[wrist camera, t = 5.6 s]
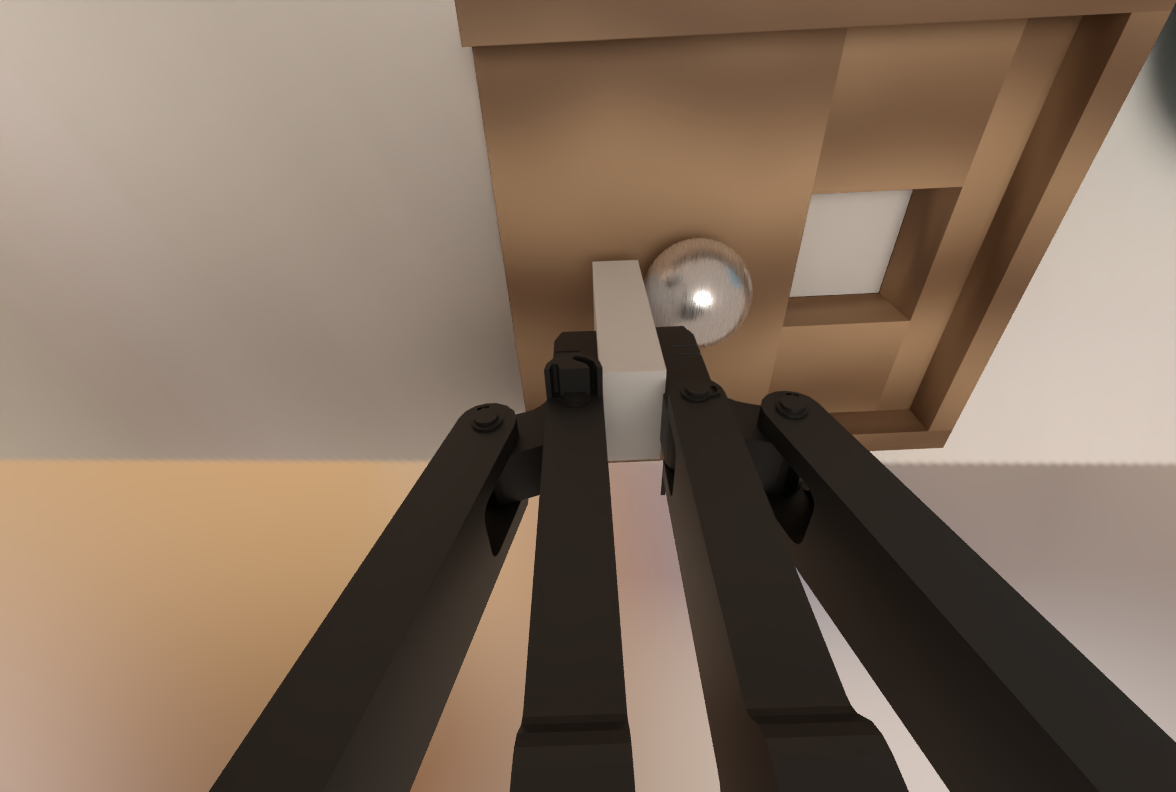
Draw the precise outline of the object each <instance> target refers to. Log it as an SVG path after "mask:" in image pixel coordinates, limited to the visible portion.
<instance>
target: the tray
mask: <svg viewBox="0 0 1176 792" xmlns="http://www.w3.org/2000/svg"><path fill="white" fill-rule="evenodd" d="M1175 4H1176V0H455V6H456V12H457V19H458V25H459V31H460V38H461V44H462V47H471V46H472V51H473V57H474V64H475V71H476V78H477V84H478V91H479V98H480V105H481V111H482V118H483V125H484V132H485V138H486V145H487V152H488V159H489V165H490V172H491V179H492V186H493V192H494V199H495V206H496V212H497V219H498V226H499V233H500V239H501V246H502V253H503V260H504V266H505V273H506V280H507V287H508V293H509V300H510V307H511V314H512V320H513V327H514V334H515V341H516V347H517V354H518V361H519V368H520V374H521V381H522V388H523V395H524V401H525V408H526V412H528V411H531V410H534V409H535V408H537V407H539V406H541V405H542V404H543V403H544V402H546V400H547V396H546V386H545V377H544V368H545V366H546V364H547V363H548V362H549V361H550V360H552V359H553V353H554V352H553V351H554V341H555V340H556V338H557V337H558V336H559V335H560V334H561V332H572V331H594V299H593V266H592V262H597V261H623V260H638V263H639V267H640V270H641V274H642V278H643V282H644V279H645V276H646V274H647V272H648V270H649V268H650V266H651V264H652V263H653V262H654V260H655V259H656V258H657V257H658V256H659V255H660V254H661V253H662V252H663V251H664V250H666V249H667V248H669V247H670V246H672V245H674V244H676V243H678V242H680V241H684V240H687V239H693V238H706V239H712V240H716V241H718V242H721V243H723V244H725V245H727V246H729V247H730V248H732V249H733V250H734V251H735V252H736V253H737V254H738V255H739V256H740V257H741V258H742V259H743V261H744V262H745V264H746V266H747V268H748V270H749V273H750V276H751V279H752V285H753V296H752V302H751V307H750V310H749V312H748V314H747V317H746V318H745V320H744V322H743V323H742V325H741V326H740V327H739V328H738V330H737V331H736V332H734V333H733V334H732V335H731V336H730V337H728V338H727V339H726V340H724V341H722V342H720V343H718V344H715V345H713V346H709V347H705V348H699V350H700V352H701V355H702V358H703V360H704V363H705V366H706V368H707V371H708V374H709V376H710V379H711V381H714V382H715V383H717V384H718V385H720V386H721V387H722V388H723V390H724V391H725V393H726V395H727V398H730V399H732V400H735V401H739V402H743V403H749V404H755V405H761V402H762V399H763V398H764V397H765V396H766V395H767V394H770V393H773V392H775V391H792V392H798V393H801V394H803V395H806V396H809V397H810V398H812V399H813V400H815V401H816V402H818V403H819V404H820V405H821V406H822V407H823V408H824V409H825V410H826V411H827V412H828V413H829V414H830V415H832V416H833V417H834V418H835V419H836V420H837V421H838V422H839V423H840V424H841V425H842V426H843V427H844V428H845V429H846V430H847V431H848V432H849V433H850V434H852V435H853V436H854V437H855V438H856V439H857V440H858V441H859V442H860V443H861V444H862V445H863V446H864V447H865V448H866V449H867V450H868V451H880V450H902V449H924V448H943V447H944V445H945V443H946V441H947V439H948V437H949V435H950V433H951V431H952V430H953V428H954V426H955V424H956V422H957V420H958V418H959V416H960V414H961V412H962V410H963V409H964V407H965V405H966V403H967V401H968V399H969V397H970V395H971V393H972V391H973V389H974V388H975V386H976V384H977V382H978V380H979V378H980V376H981V374H982V372H983V370H984V368H985V367H986V365H987V363H988V361H989V359H990V357H991V355H992V353H993V351H994V349H995V347H996V345H997V344H998V342H999V340H1000V338H1001V336H1002V334H1003V332H1004V330H1005V328H1006V326H1007V324H1008V323H1009V321H1010V319H1011V317H1012V315H1013V313H1014V311H1015V309H1016V307H1017V305H1018V303H1019V302H1020V300H1021V298H1022V296H1023V294H1024V292H1025V290H1026V288H1027V286H1028V284H1029V282H1030V281H1031V279H1032V277H1033V275H1034V273H1035V271H1036V269H1037V267H1038V265H1039V263H1040V261H1041V260H1042V258H1043V256H1044V254H1045V252H1046V250H1047V248H1048V246H1049V244H1050V242H1051V240H1052V239H1053V237H1054V235H1055V233H1056V231H1057V229H1058V227H1059V225H1060V223H1061V221H1062V219H1063V217H1064V216H1065V214H1066V212H1067V210H1068V208H1069V206H1070V204H1071V202H1072V200H1073V198H1074V196H1075V195H1076V193H1077V191H1078V189H1079V187H1080V185H1081V183H1082V181H1083V179H1084V177H1085V175H1086V174H1087V172H1088V170H1089V168H1090V166H1091V164H1092V162H1093V160H1094V158H1095V156H1096V154H1097V153H1098V151H1099V149H1100V147H1101V145H1102V143H1103V141H1104V139H1105V137H1106V135H1107V133H1108V132H1109V130H1110V128H1111V126H1112V124H1113V122H1114V120H1115V118H1116V116H1117V114H1118V112H1119V111H1120V109H1121V107H1122V105H1123V103H1124V101H1125V99H1126V97H1127V95H1128V93H1129V91H1130V89H1131V88H1132V86H1133V84H1134V82H1135V80H1136V78H1137V76H1138V74H1139V72H1140V70H1141V68H1142V67H1143V65H1144V63H1145V61H1146V59H1147V57H1148V55H1149V53H1150V51H1151V49H1152V47H1153V46H1154V44H1155V42H1156V40H1157V38H1158V36H1159V34H1160V32H1161V30H1162V28H1163V26H1164V25H1165V23H1166V21H1167V19H1168V17H1169V15H1170V13H1171V11H1172V9H1173V7H1174V5H1175ZM906 189H914V191H913V194H912V197H911V200H910V203H909V206H908V209H907V212H906V215H905V218H904V221H903V224H902V227H901V230H900V233H899V236H898V239H897V242H896V245H895V248H894V250H893V253H892V256H891V259H890V262H889V265H888V268H887V271H886V274H885V277H884V280H883V283H882V286H881V289H880V292H879V293H871V294H850V295H829V296H808V297H789V295H790V290H791V286H792V281H793V277H794V272H795V268H796V263H797V258H798V254H799V249H800V245H801V240H802V235H803V231H804V226H805V222H806V217H807V213H808V208H809V203H810V199H811V194H824V193H845V192H865V191H885V190H906ZM660 460H664V458H663V453H662V448H661V454H660V459H648V460H621V461H608V463H616V462H638V461H660Z"/></svg>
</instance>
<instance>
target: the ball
mask: <svg viewBox="0 0 1176 792" xmlns="http://www.w3.org/2000/svg"><path fill="white" fill-rule="evenodd" d="M644 286H645V290H646V293H647V297H648V301H649V305H650V309H651V313H652V317H653V320H654V324H655V327H669V326H684V327H685V328H686V329H688V330H689V331H690V332H691V333H692V334H694V336H695V339H696V342H697V344H698V347H699V348H705V347H709V346H713V345H715V344H718V343H720V342H722V341H724V340H726V339H727V338H728V337H730V336H731V335H732V334H733V333H734V332H736V331H737V330H738V328H739V327H740V326H741V325H742V323H743V322H744V320H745V318H746V317H747V314H748V312H749V310H750V307H751V302H752V296H753V285H752V279H751V276H750V273H749V270H748V268H747V266H746V264H745V262H744V261H743V259H742V258H741V257H740V256H739V255H738V254H737V253H736V252H735V251H734V250H733V249H732V248H730V247H729V246H727V245H725V244H723V243H721V242H718V241H716V240H712V239H706V238H693V239H687V240H684V241H680V242H678V243H676V244H674V245H672V246H670V247H669V248H667V249H666V250H664V251H663V252H662V253H661V254H660V255H659V256H658V257H657V258H656V259H655V260H654V262H653V263H652V264H651V266H650V268H649V270H648V272H647V274H646V276H645V279H644Z"/></svg>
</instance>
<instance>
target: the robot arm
mask: <svg viewBox="0 0 1176 792" xmlns="http://www.w3.org/2000/svg"><path fill="white" fill-rule="evenodd" d="M592 266H593V299H594V331H572V332H561V334H560V335H559V336H558V337H557V338H556V340H555V341H554V351H553V352H554V353H553V359H552V360H550V361H549V362H548V363H547V364H546V366H545V368H544V377H545V386H546V396H547V400H546V402H544V403H543V404H542V405H541V406H539V407H537V408H535V409H534V410H531V411H528V412H524V413H521V414H517V415H515V413H514V411H513V410H512V409H511V408H509V407H508V406H506V405H502V404H498V403H489V404H483V405H479V406H475V407H473V408H471V409H469V410H467V411H466V412H465V413H464V414H463V415H462V416H461V417H460V418H459V419H458V421H457V422H456V424H455V425H454V427H453V428H452V430H451V431H450V433H449V434H448V436H447V437H446V439H445V440H444V442H443V443H442V445H441V446H440V448H439V449H438V451H437V452H436V454H435V455H434V457H433V458H432V460H431V461H430V463H429V464H428V466H427V467H426V468H425V470H424V472H423V473H422V475H421V476H420V478H419V479H418V480H417V482H416V484H415V485H414V486H413V488H412V490H411V491H410V492H409V494H408V495H407V497H406V498H405V500H404V501H403V503H402V504H401V506H400V507H399V509H398V510H397V512H396V513H395V515H394V516H393V518H392V519H391V521H390V522H389V524H388V525H387V527H386V528H385V530H384V531H383V533H382V534H381V536H380V537H379V539H378V540H377V542H376V543H375V545H374V546H373V548H372V549H371V551H370V552H369V554H368V555H367V556H366V558H365V560H364V561H363V562H362V564H361V565H360V567H359V569H358V570H357V572H356V573H355V574H354V576H353V577H352V579H351V580H350V582H349V583H348V585H347V587H346V588H345V589H344V591H343V592H342V594H341V595H340V597H339V598H338V600H337V601H336V603H335V604H334V606H333V608H332V609H331V610H330V612H329V613H328V615H327V617H326V618H325V619H324V621H323V622H322V624H321V625H320V627H319V628H318V630H317V631H316V633H315V634H314V636H313V637H312V639H311V640H310V642H309V643H308V645H307V646H306V647H305V649H304V650H303V652H302V653H301V655H300V656H299V658H298V660H297V661H296V662H295V664H294V665H293V667H292V668H291V670H290V672H289V673H288V674H287V676H286V677H285V679H284V680H283V682H282V684H281V685H280V686H279V688H278V689H277V691H276V692H275V694H274V695H273V697H272V698H271V700H270V701H269V703H268V704H267V706H266V707H265V709H264V710H263V712H262V713H261V715H260V717H259V718H258V719H257V721H256V722H255V724H254V725H253V727H252V728H251V730H250V731H249V733H248V734H247V736H246V737H245V738H244V740H243V742H242V743H241V744H240V746H239V748H238V749H237V750H236V752H235V753H234V755H233V756H232V758H231V760H230V761H229V762H228V764H227V765H226V767H225V768H224V770H223V771H222V773H221V774H220V776H219V777H218V779H217V780H216V782H215V783H214V785H213V786H212V788H211V789H210V791H209V792H410V790H411V787H412V785H413V782H414V780H415V777H416V775H417V773H418V770H419V768H420V765H421V763H422V760H423V758H424V756H425V753H426V751H427V748H428V746H429V743H430V741H431V738H432V736H433V734H434V731H435V729H436V726H437V724H438V721H439V719H440V717H441V714H442V712H443V709H444V706H445V704H446V702H447V699H448V697H449V695H450V692H451V690H452V687H453V685H454V683H455V680H456V678H457V675H458V673H459V670H460V668H461V665H462V663H463V661H464V658H465V656H466V653H467V651H468V648H469V646H470V643H471V641H472V639H473V636H474V633H475V631H476V629H477V626H478V624H479V622H480V619H481V617H482V614H483V612H484V609H485V607H486V605H487V602H488V600H489V597H490V595H491V592H492V590H493V587H494V585H495V583H496V580H497V578H498V575H499V573H500V570H501V568H502V566H503V563H504V561H505V558H506V556H507V553H508V550H509V548H510V546H511V544H512V541H513V539H514V536H515V534H516V531H517V529H518V527H519V524H520V522H521V519H522V517H523V514H524V512H525V509H526V507H527V505H528V498H530V497H534V496H537V495H540V497H539V510H538V524H537V537H536V550H535V564H534V576H533V590H532V604H531V617H530V630H529V643H528V656H527V670H526V684H525V696H524V710H523V718H522V723H521V726H520V728H519V730H518V733H517V736H516V741H515V746H514V754H513V764H512V772H511V784H510V792H635V782H634V770H633V758H632V746H631V737H630V729H629V724H628V718H627V707H626V694H625V680H624V669H623V668H624V667H623V654H622V641H621V627H620V616H619V615H620V614H619V602H618V588H617V575H616V561H615V548H614V535H613V522H612V509H611V495H610V482H609V470H608V461H621V460H648V459H660V454H661V448H662V453H663V458H664V460H663V473H662V474H663V475H662V487H661V495H665V492H666V496H667V501H668V506H669V512H670V517H671V523H672V528H673V533H674V539H675V544H676V549H677V554H678V560H679V565H680V571H681V576H682V581H683V587H684V592H685V597H686V602H687V608H688V614H689V619H690V624H691V629H692V634H693V640H694V645H695V650H696V656H697V662H698V667H699V672H700V678H701V683H702V688H703V694H704V699H705V704H706V710H707V715H708V721H709V725H710V731H711V737H712V742H713V747H714V753H715V758H716V763H717V769H718V775H719V781H720V791H721V792H909V791H908V789H907V786H906V784H905V782H904V779H903V777H902V775H901V773H900V770H899V768H898V765H897V763H896V761H895V759H894V756H893V754H892V752H891V750H890V748H889V746H888V744H887V742H886V740H885V739H884V737H883V735H882V733H881V732H880V731H879V730H878V728H877V727H876V726H875V725H874V723H873V722H872V721H870V720H869V719H867V718H865V717H863V716H861V715H860V714H858V713H857V712H856V711H855V710H854V709H853V707H852V706H851V704H850V702H849V700H848V698H847V696H846V694H845V691H844V689H843V686H842V683H841V681H840V679H839V676H838V673H837V671H836V668H835V666H834V663H833V661H832V658H831V656H830V653H829V651H828V648H827V646H826V643H825V641H824V638H823V636H822V633H821V631H820V628H819V626H818V623H817V621H816V619H815V616H814V613H813V611H812V608H811V606H810V603H809V601H808V598H807V596H806V593H805V591H804V588H803V586H802V583H801V581H800V578H799V576H798V573H797V571H796V568H797V570H798V571H799V573H800V574H801V576H802V577H803V579H804V580H805V582H806V583H807V584H808V586H809V587H810V589H811V590H812V592H813V593H814V595H815V596H816V597H817V599H818V600H819V602H820V603H821V604H822V606H823V608H824V609H825V611H826V612H827V613H828V615H829V616H830V618H831V619H832V621H833V622H834V624H835V625H836V626H837V628H838V629H839V631H840V632H841V634H842V635H843V637H844V638H845V640H846V641H847V643H848V644H849V646H850V647H851V648H852V650H853V651H854V653H855V654H856V656H857V657H858V658H859V660H860V662H861V663H862V664H863V666H864V667H865V669H866V670H867V671H868V673H869V675H870V676H871V677H872V679H873V680H874V682H875V683H876V685H877V686H878V688H879V689H880V691H881V692H882V694H883V695H884V696H885V698H886V699H887V701H888V702H889V704H890V705H891V706H892V708H893V709H894V711H895V712H896V714H897V715H898V717H899V718H900V719H901V721H902V722H903V724H904V725H905V727H906V728H907V730H908V731H909V733H910V734H911V736H912V737H913V739H914V740H915V741H916V743H917V744H918V746H919V747H920V749H921V750H922V752H923V753H924V754H925V756H926V757H927V759H928V760H929V762H930V763H931V764H932V766H933V767H934V769H935V770H936V772H937V773H938V775H939V776H940V778H941V779H942V781H943V782H944V784H945V785H946V786H947V788H948V789H949V791H950V792H1176V742H1175V741H1174V740H1173V739H1171V738H1170V737H1169V736H1168V735H1167V734H1166V733H1165V732H1164V731H1163V730H1162V729H1161V728H1160V727H1159V726H1158V725H1157V724H1156V723H1155V722H1153V720H1152V719H1150V718H1149V717H1148V716H1147V715H1146V714H1145V713H1144V712H1143V711H1142V710H1141V709H1140V708H1139V707H1138V706H1137V705H1136V704H1135V703H1134V702H1132V700H1130V699H1129V698H1128V697H1127V696H1126V695H1125V694H1124V693H1123V692H1122V691H1121V690H1120V689H1119V688H1118V687H1117V686H1116V685H1115V684H1114V683H1113V682H1112V681H1110V680H1109V679H1108V678H1107V677H1106V676H1105V675H1104V674H1103V673H1102V672H1101V671H1100V670H1099V669H1098V668H1097V667H1096V666H1095V665H1094V664H1093V663H1092V662H1090V661H1089V660H1088V659H1087V658H1086V657H1085V656H1084V655H1083V654H1082V653H1081V652H1080V651H1079V650H1078V649H1077V648H1076V647H1075V646H1073V644H1072V643H1070V642H1069V641H1068V640H1067V639H1066V638H1065V637H1064V636H1063V635H1062V634H1061V633H1060V632H1059V631H1058V630H1056V628H1055V627H1054V626H1053V625H1051V624H1050V623H1049V622H1048V621H1047V620H1046V619H1045V618H1044V617H1043V616H1042V615H1041V614H1040V613H1039V612H1038V611H1037V610H1036V609H1035V608H1034V607H1032V605H1030V604H1029V603H1028V602H1027V601H1026V600H1025V599H1024V598H1023V597H1022V596H1021V595H1020V594H1019V593H1018V592H1017V591H1016V590H1015V589H1014V588H1013V587H1012V586H1010V585H1009V584H1008V583H1007V582H1006V581H1005V580H1004V579H1003V578H1002V577H1001V576H1000V575H999V574H998V573H997V572H996V571H995V570H994V569H992V568H991V567H990V566H989V565H988V564H987V563H986V562H985V561H984V560H983V559H982V558H981V557H980V556H979V555H978V554H977V553H976V552H975V551H974V550H972V549H971V548H970V547H969V546H968V545H967V544H966V543H965V542H964V541H963V540H962V539H961V538H960V537H959V536H958V535H957V534H956V533H955V532H954V531H952V530H951V529H950V528H949V527H948V526H947V525H946V524H945V523H944V522H943V521H942V520H941V519H940V518H939V517H938V516H937V515H936V514H935V513H934V512H932V511H931V510H930V509H929V508H928V507H927V506H926V505H925V504H924V503H923V502H922V501H921V500H920V499H919V498H918V497H917V496H916V495H915V494H914V493H912V491H910V490H909V489H908V488H907V487H906V486H905V485H904V484H903V483H902V482H901V481H900V480H899V479H898V478H897V477H896V476H895V475H894V474H893V473H891V472H890V471H889V470H888V469H887V468H886V467H885V466H884V465H883V464H882V463H881V462H880V461H879V460H878V459H877V458H876V457H875V456H874V455H873V454H872V453H870V452H869V451H868V450H867V449H866V448H865V447H864V446H863V445H862V444H861V443H860V442H859V441H858V440H857V439H856V438H855V437H854V436H853V435H852V434H850V433H849V432H848V431H847V430H846V429H845V428H844V427H843V426H842V425H841V424H840V423H839V422H838V421H837V420H836V419H835V418H834V417H833V416H832V415H830V414H829V413H828V412H827V411H826V410H825V409H824V408H823V407H822V406H821V405H820V404H819V403H818V402H816V401H815V400H813V399H812V398H810V397H809V396H806V395H803V394H801V393H798V392H792V391H775V392H773V393H770V394H767V395H766V396H765V397H764V398H763V399H762V402H761V405H755V404H749V403H743V402H739V401H735V400H732V399H730V398H727V395H726V393H725V391H724V390H723V388H722V387H721V386H720V385H718V384H717V383H715V382H714V381H711V379H710V376H709V374H708V371H707V368H706V366H705V363H704V360H703V358H702V355H701V352H700V350H699V347H698V344H697V342H696V339H695V336H694V334H692V333H691V332H690V331H689V330H688V329H686V328H685V327H684V326H669V327H655V324H654V320H653V317H652V313H651V309H650V305H649V301H648V297H647V293H646V290H645V286H644V282H643V278H642V274H641V270H640V267H639V263H638V260H623V261H597V262H592ZM795 567H796V568H795Z"/></svg>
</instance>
